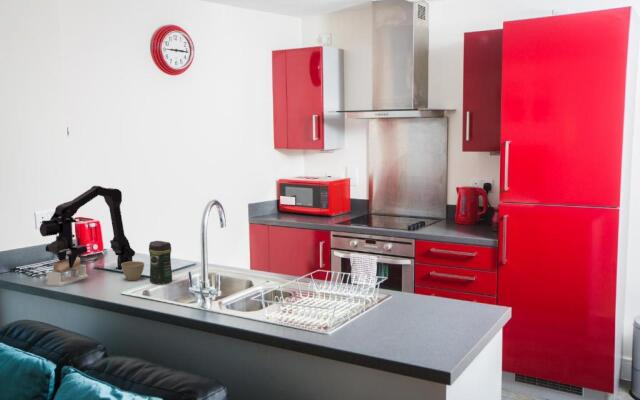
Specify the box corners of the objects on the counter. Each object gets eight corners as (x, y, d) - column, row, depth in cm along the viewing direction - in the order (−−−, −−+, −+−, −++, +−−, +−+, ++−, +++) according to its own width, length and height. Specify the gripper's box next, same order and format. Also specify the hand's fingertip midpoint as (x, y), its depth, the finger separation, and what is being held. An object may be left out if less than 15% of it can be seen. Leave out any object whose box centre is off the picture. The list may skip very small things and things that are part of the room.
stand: (88, 277, 278) (87, 265, 278) (60, 286, 262) (59, 273, 262) (74, 275, 281) (74, 263, 280) (46, 284, 265) (45, 272, 265)
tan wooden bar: (80, 267, 276) (80, 257, 276) (60, 273, 265) (60, 263, 264) (73, 266, 277) (73, 256, 277) (53, 272, 266) (53, 262, 266)
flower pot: (126, 283, 268) (126, 267, 267) (118, 278, 276) (117, 263, 275) (148, 279, 274) (147, 264, 273) (139, 275, 282) (138, 260, 281)
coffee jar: (175, 281, 270) (174, 240, 268) (161, 285, 264) (160, 243, 261) (160, 278, 276) (159, 238, 273) (146, 282, 269) (145, 241, 267)
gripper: (34, 234, 265) (36, 269, 267) (68, 237, 258) (70, 273, 260) (54, 230, 275) (56, 264, 277) (87, 233, 269) (88, 267, 271)
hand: (67, 267), depth 271 cm, fingers closed on tan wooden bar, 4 cm apart
